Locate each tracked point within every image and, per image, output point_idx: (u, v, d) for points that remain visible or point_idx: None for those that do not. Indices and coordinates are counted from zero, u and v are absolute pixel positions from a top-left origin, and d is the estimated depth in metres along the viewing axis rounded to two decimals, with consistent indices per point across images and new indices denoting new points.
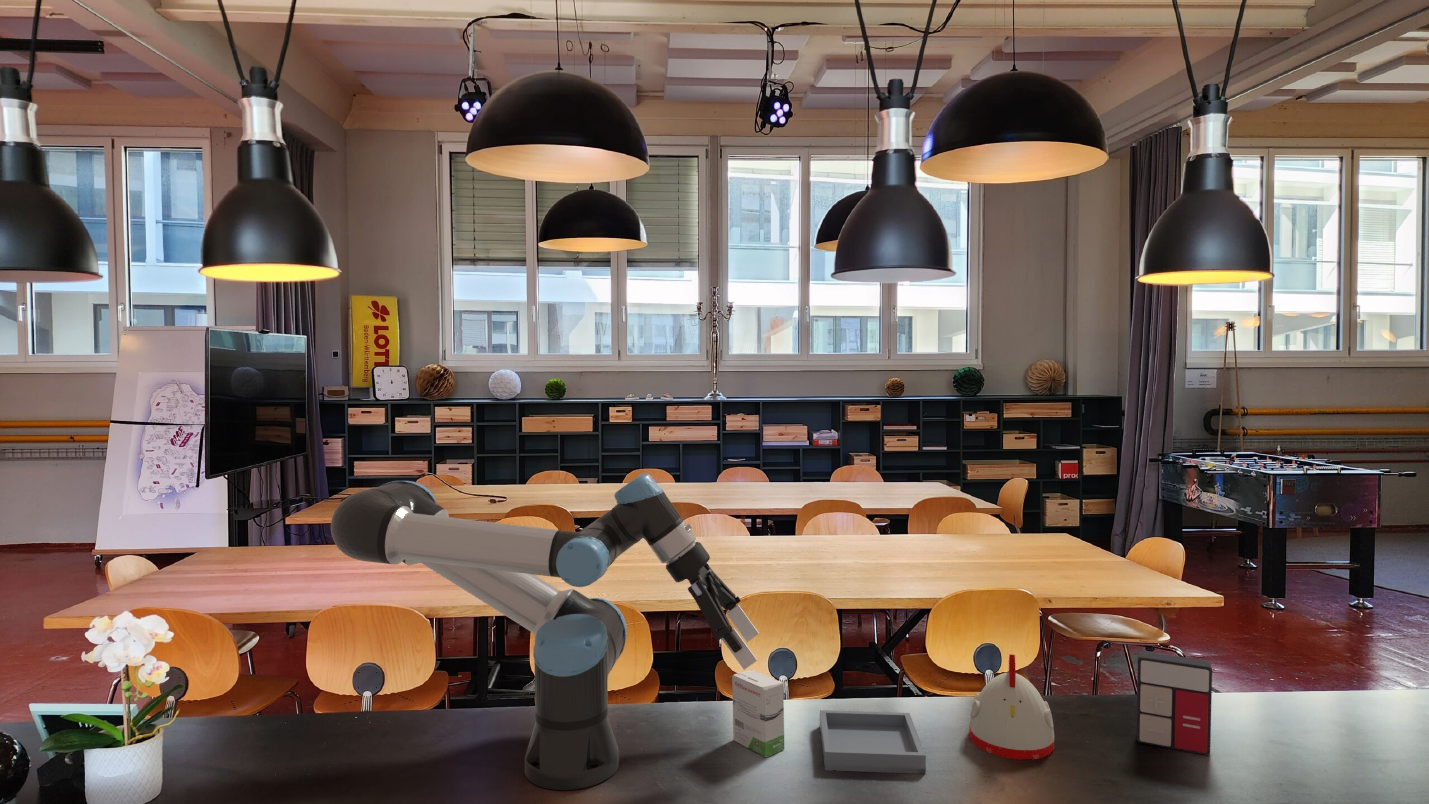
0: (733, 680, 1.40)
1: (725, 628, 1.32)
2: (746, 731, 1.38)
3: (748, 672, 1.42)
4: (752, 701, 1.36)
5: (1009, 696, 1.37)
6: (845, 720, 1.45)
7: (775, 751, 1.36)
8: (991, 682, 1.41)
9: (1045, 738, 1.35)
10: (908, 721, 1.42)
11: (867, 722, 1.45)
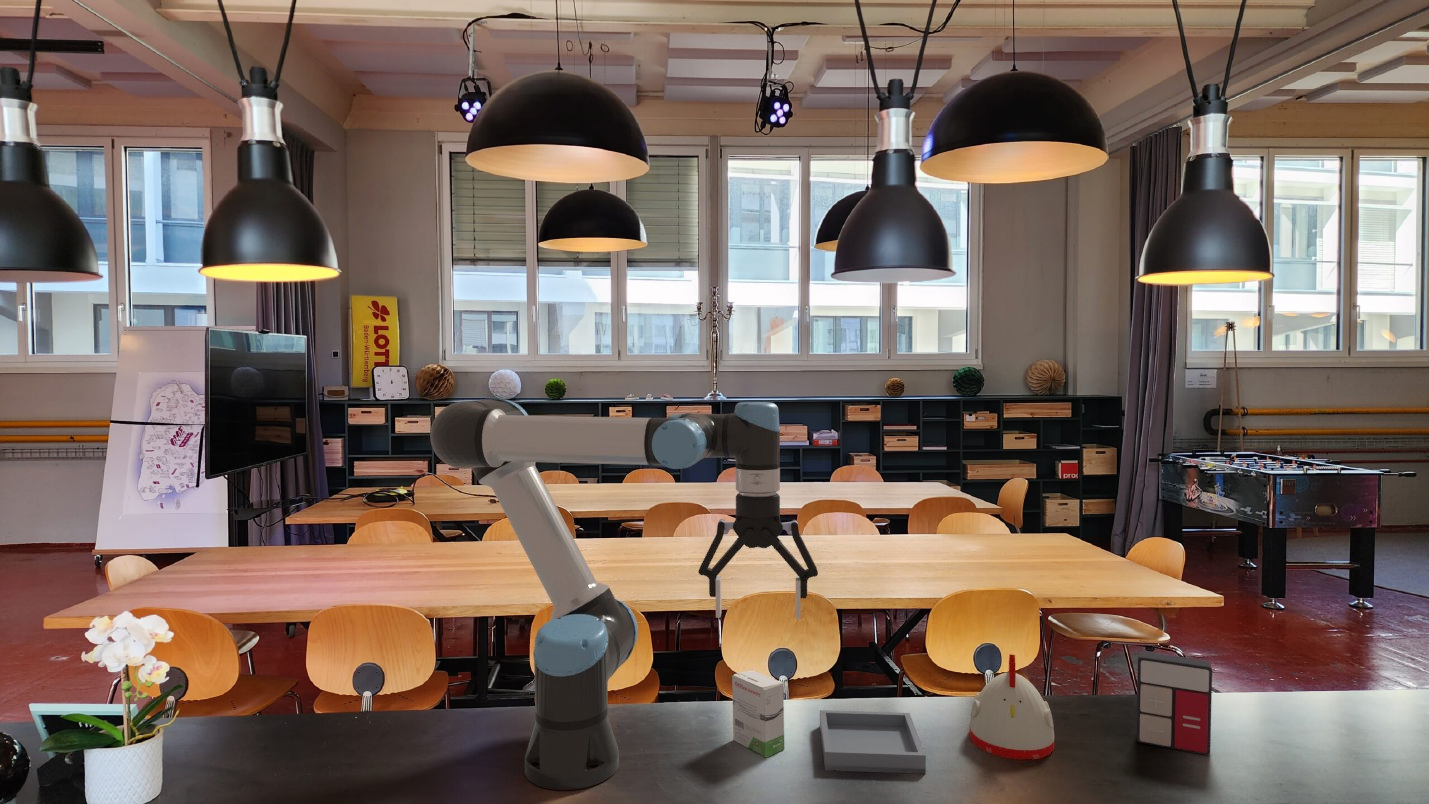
0: (733, 680, 1.40)
1: None
2: (745, 731, 1.38)
3: (748, 672, 1.42)
4: (752, 701, 1.36)
5: (1009, 696, 1.37)
6: (845, 720, 1.45)
7: (775, 751, 1.36)
8: (991, 682, 1.41)
9: (1045, 738, 1.35)
10: (908, 721, 1.42)
11: (867, 722, 1.45)
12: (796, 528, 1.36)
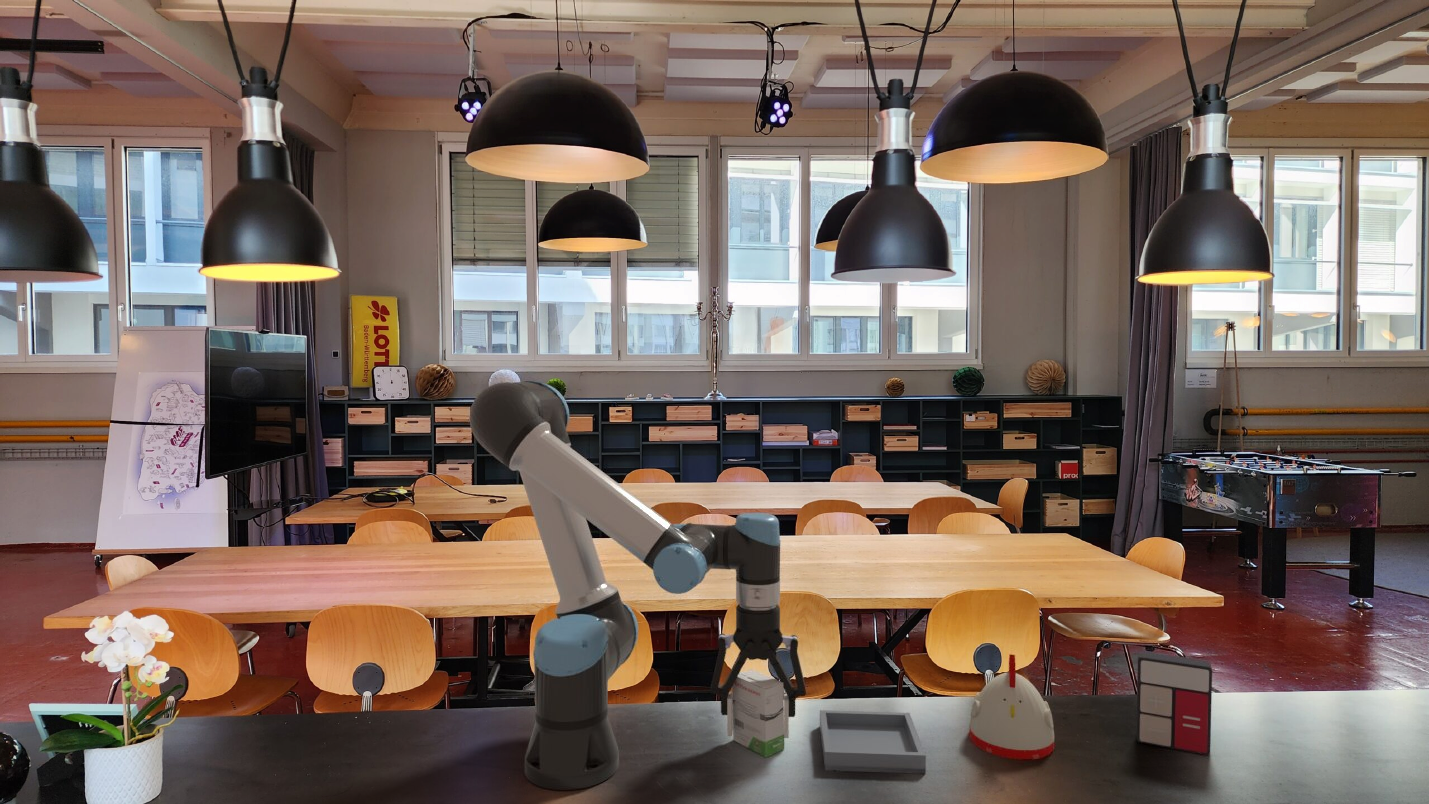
0: None
1: None
2: (745, 731, 1.38)
3: (748, 672, 1.42)
4: (752, 700, 1.36)
5: (1009, 696, 1.37)
6: (845, 720, 1.45)
7: (775, 751, 1.36)
8: (991, 682, 1.41)
9: (1045, 738, 1.35)
10: (908, 721, 1.42)
11: (867, 722, 1.45)
12: (795, 645, 1.37)
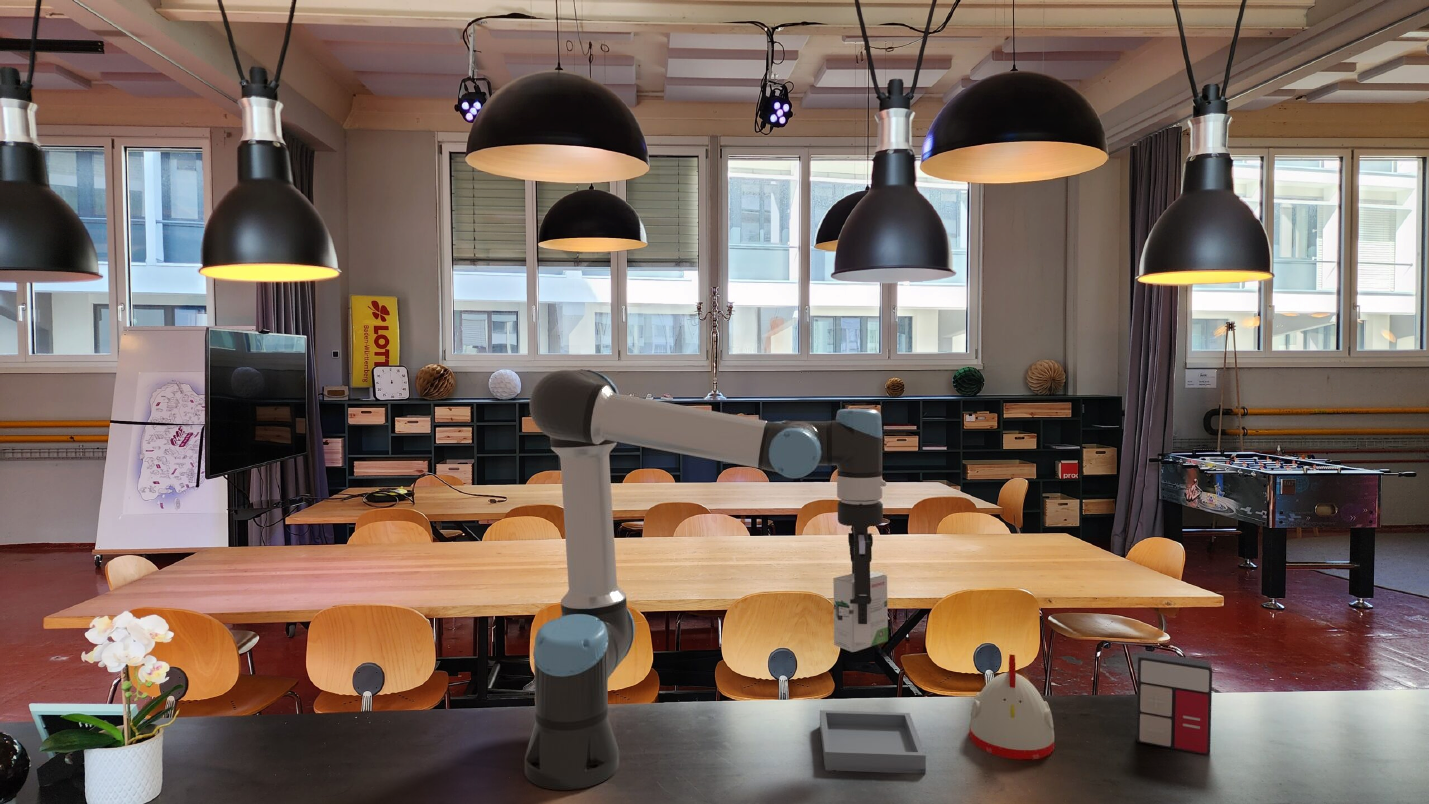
0: None
1: (868, 598, 1.29)
2: None
3: (843, 578, 1.35)
4: (876, 594, 1.36)
5: (1009, 696, 1.37)
6: (845, 720, 1.45)
7: None
8: (991, 682, 1.41)
9: (1045, 738, 1.35)
10: (908, 721, 1.42)
11: (867, 722, 1.45)
12: None
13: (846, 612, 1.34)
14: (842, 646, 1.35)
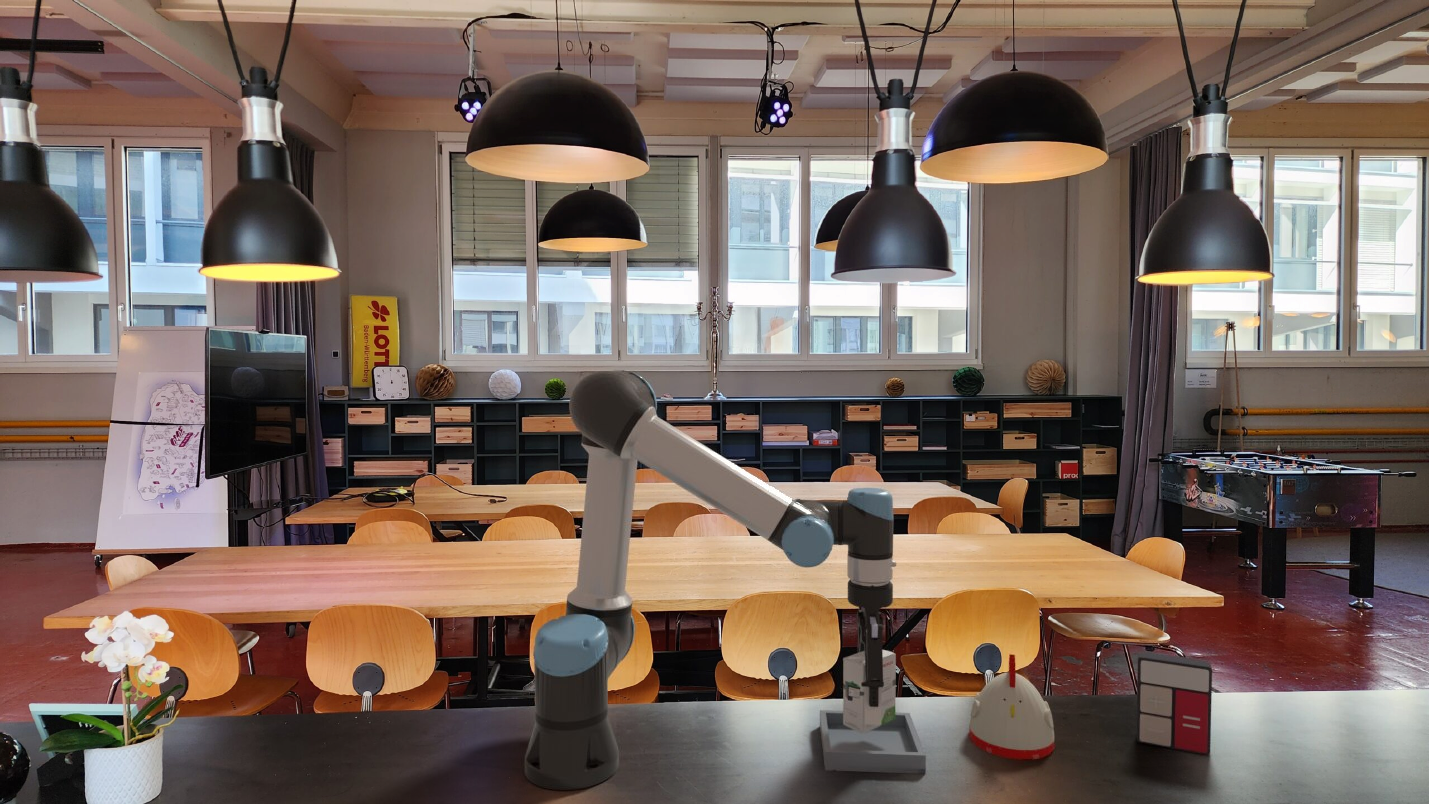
0: None
1: (881, 683, 1.29)
2: None
3: (853, 658, 1.36)
4: (885, 674, 1.36)
5: (1009, 696, 1.37)
6: None
7: None
8: (991, 682, 1.41)
9: (1045, 738, 1.35)
10: (908, 721, 1.42)
11: None
12: None
13: (856, 693, 1.34)
14: (852, 726, 1.35)
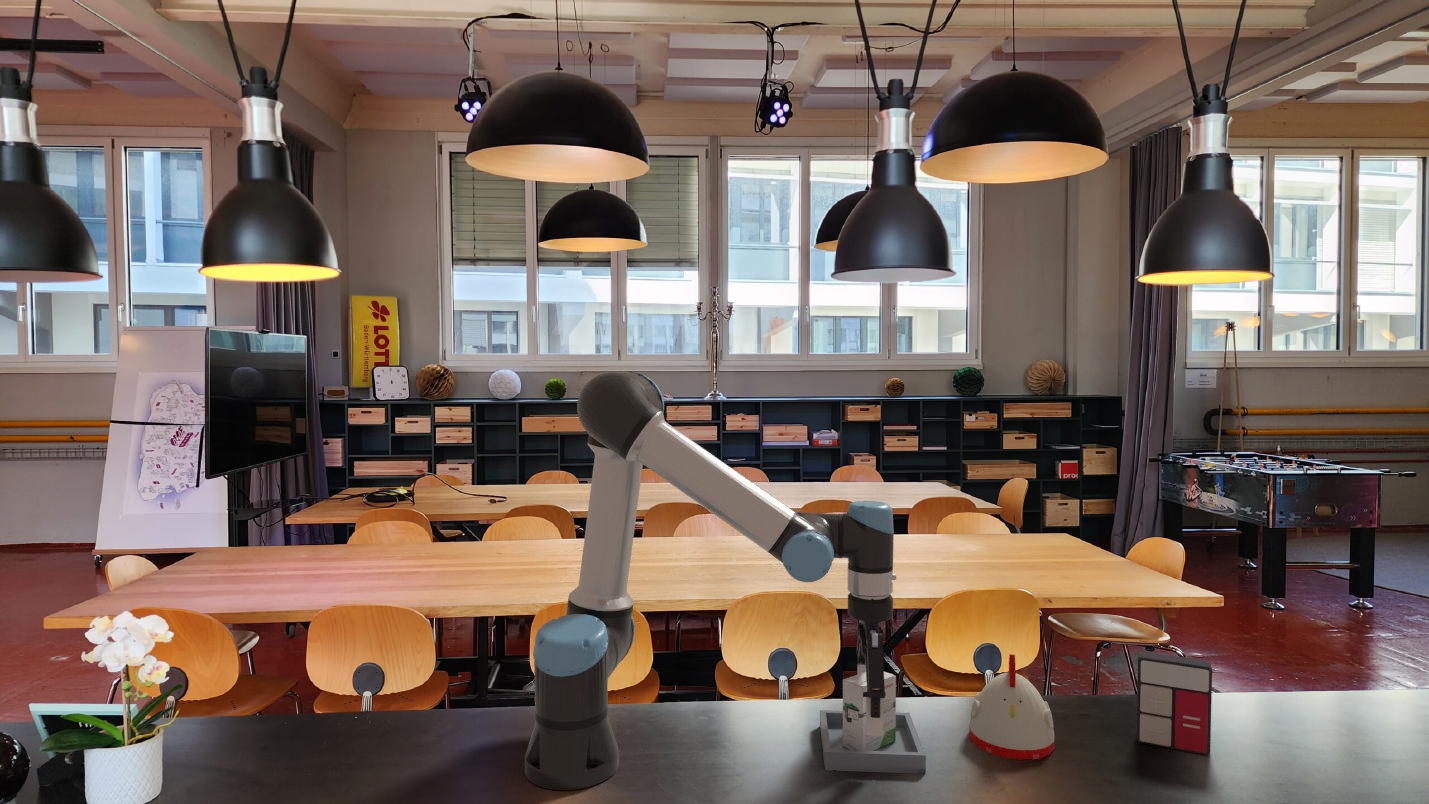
0: (864, 691, 1.33)
1: (883, 693, 1.27)
2: None
3: (853, 680, 1.36)
4: (885, 696, 1.36)
5: (1009, 696, 1.37)
6: None
7: None
8: (991, 682, 1.41)
9: (1045, 738, 1.35)
10: (908, 721, 1.42)
11: None
12: None
13: (855, 715, 1.34)
14: (851, 748, 1.35)
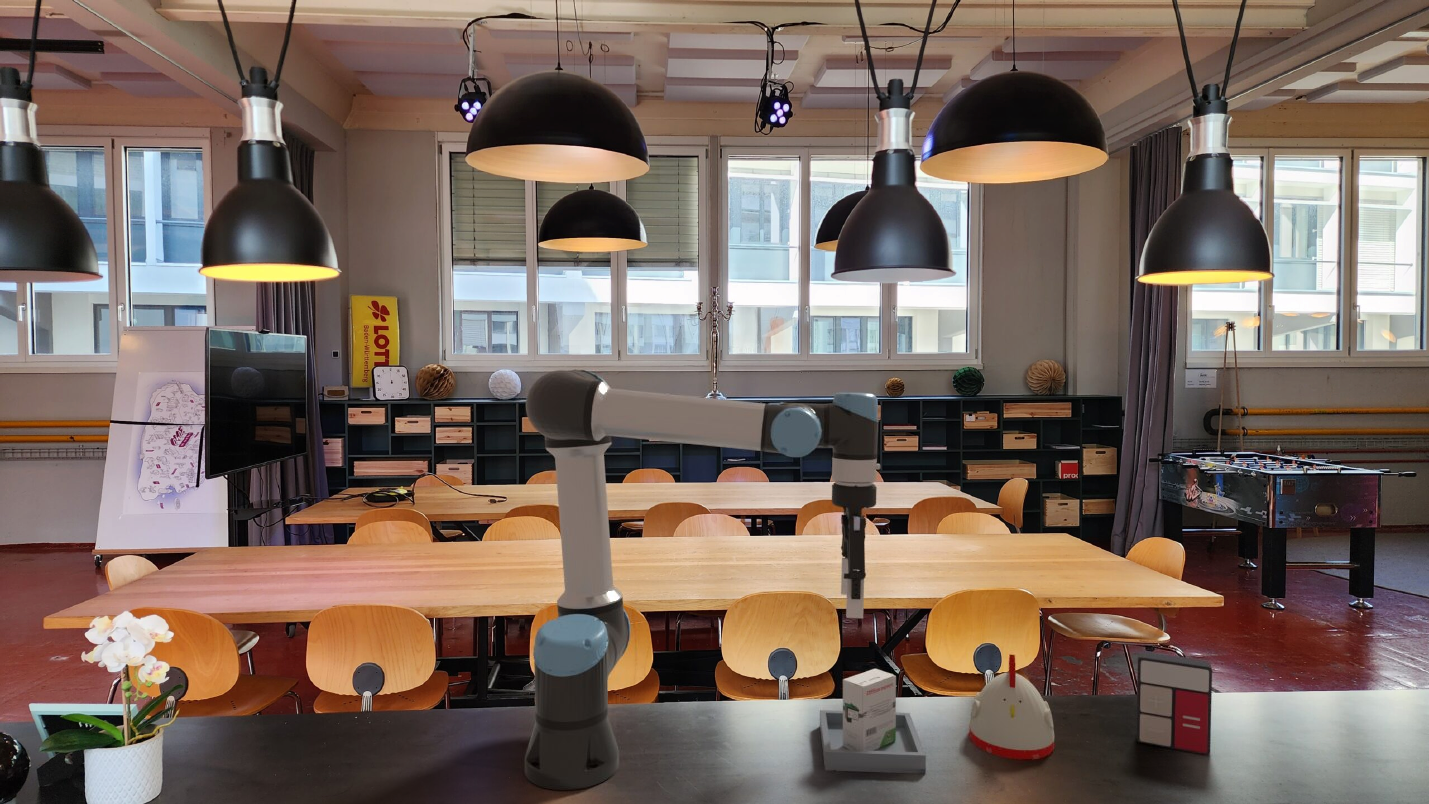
0: (864, 691, 1.33)
1: (863, 573, 1.29)
2: (878, 732, 1.35)
3: (853, 680, 1.36)
4: (885, 696, 1.36)
5: (1009, 696, 1.37)
6: None
7: None
8: (991, 682, 1.41)
9: (1045, 738, 1.35)
10: (908, 721, 1.42)
11: None
12: None
13: (855, 715, 1.34)
14: (851, 748, 1.35)
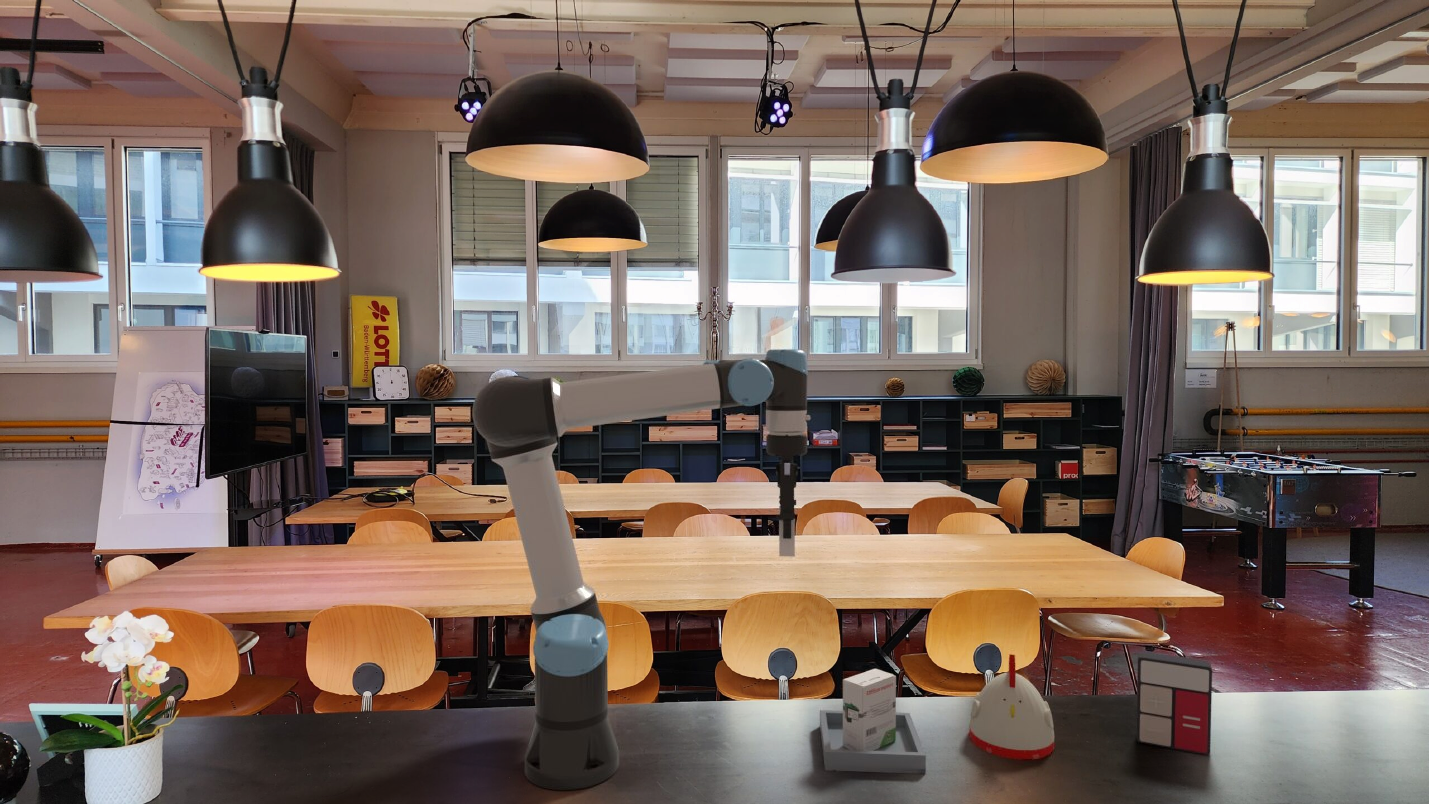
0: (864, 691, 1.33)
1: (792, 514, 1.39)
2: (878, 732, 1.35)
3: (853, 680, 1.36)
4: (885, 696, 1.36)
5: (1009, 696, 1.37)
6: None
7: None
8: (991, 682, 1.41)
9: (1045, 738, 1.35)
10: (908, 721, 1.42)
11: None
12: None
13: (855, 715, 1.34)
14: (851, 748, 1.35)
